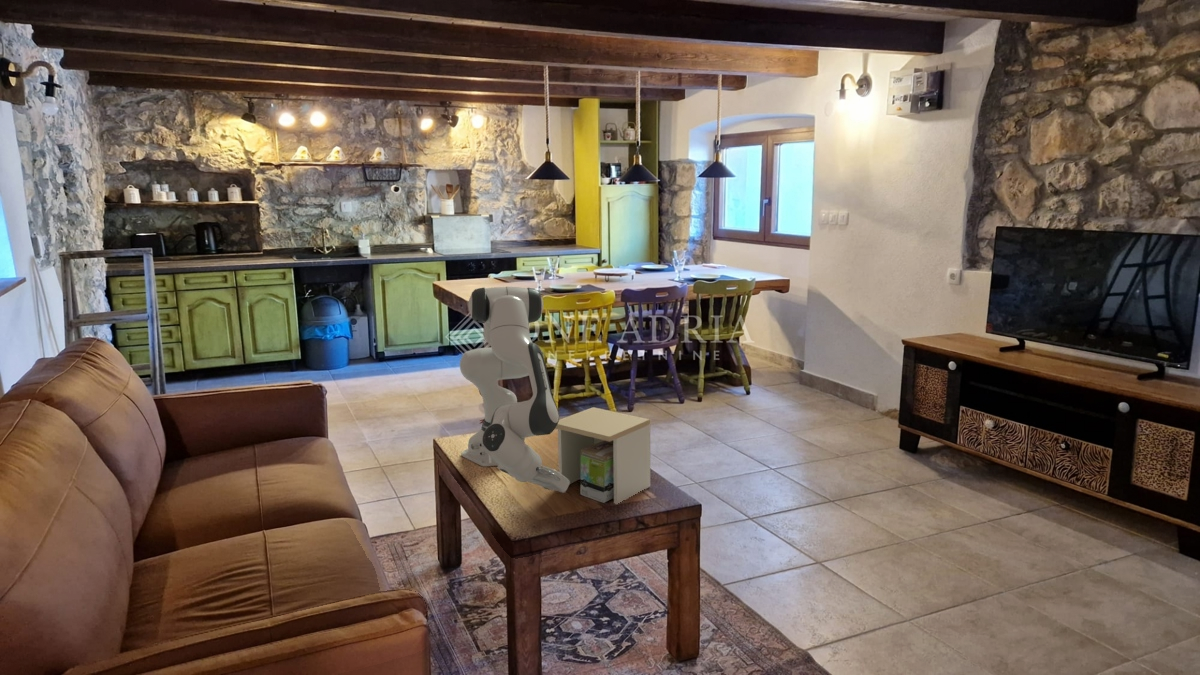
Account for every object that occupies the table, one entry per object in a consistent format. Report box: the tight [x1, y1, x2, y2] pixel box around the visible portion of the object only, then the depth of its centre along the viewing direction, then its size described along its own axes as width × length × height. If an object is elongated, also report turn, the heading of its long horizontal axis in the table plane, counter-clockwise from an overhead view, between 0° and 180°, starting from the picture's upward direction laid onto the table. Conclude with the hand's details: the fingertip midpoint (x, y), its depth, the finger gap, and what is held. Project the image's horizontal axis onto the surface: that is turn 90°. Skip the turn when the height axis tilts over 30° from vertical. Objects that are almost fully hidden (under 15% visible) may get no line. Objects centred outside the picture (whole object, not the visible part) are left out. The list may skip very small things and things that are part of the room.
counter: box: [555, 406, 651, 505], centre depth 231 cm, size 22×20×22 cm
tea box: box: [579, 440, 614, 504], centre depth 229 cm, size 15×10×15 cm, turn 139°
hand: (550, 487), depth 214 cm, fingers closed
